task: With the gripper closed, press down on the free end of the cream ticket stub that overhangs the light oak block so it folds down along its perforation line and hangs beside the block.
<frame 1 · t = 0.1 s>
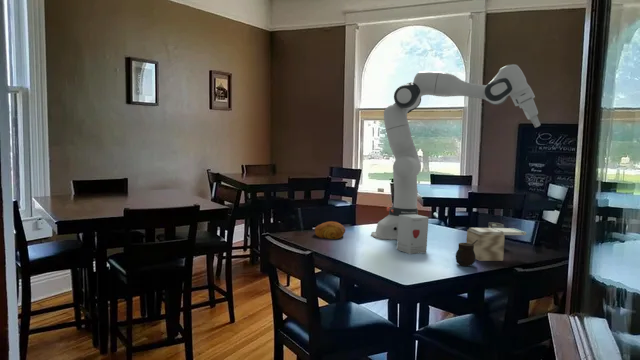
hand: (538, 126, 219), 54 cm above the table, fingers open, 8 cm apart
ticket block: (483, 257, 203), on the table
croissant: (329, 236, 236), on the table
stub: (509, 231, 204), point 11 cm above the table, hinge at 0.0°
food container: (496, 246, 228), on the table
supplement box: (411, 251, 209), on the table
mate gourd: (465, 265, 188), on the table
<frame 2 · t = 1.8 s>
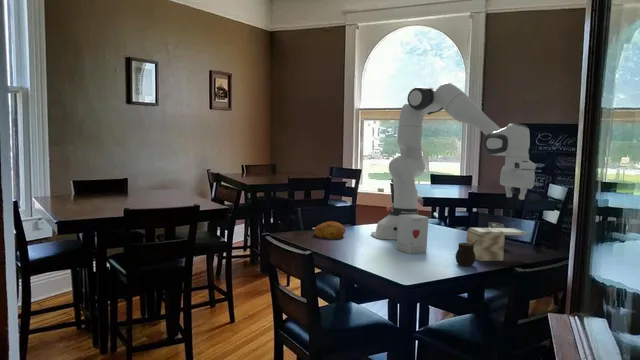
hand: (515, 198, 204), 24 cm above the table, fingers open, 8 cm apart
nothing on the table moved.
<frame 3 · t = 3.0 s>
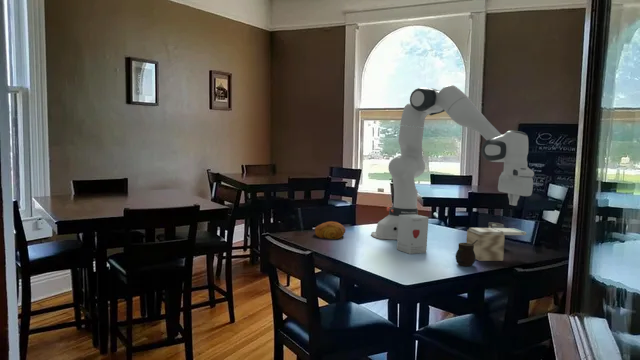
hand: (513, 205, 203), 21 cm above the table, fingers closed
nothing on the table moved.
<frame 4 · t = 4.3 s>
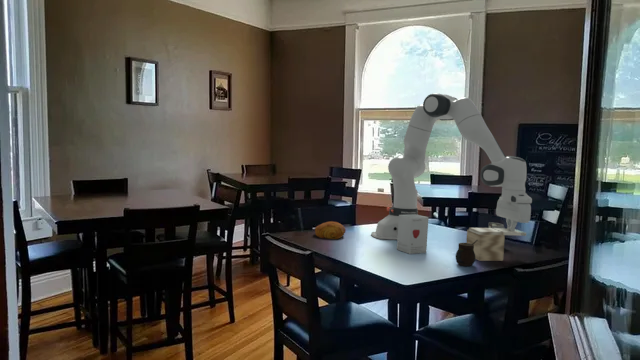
hand: (511, 230, 204), 11 cm above the table, fingers closed, pressing on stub
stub: (509, 231, 204), point 11 cm above the table, hinge at 1.3°, touching gripper
everything else where it was.
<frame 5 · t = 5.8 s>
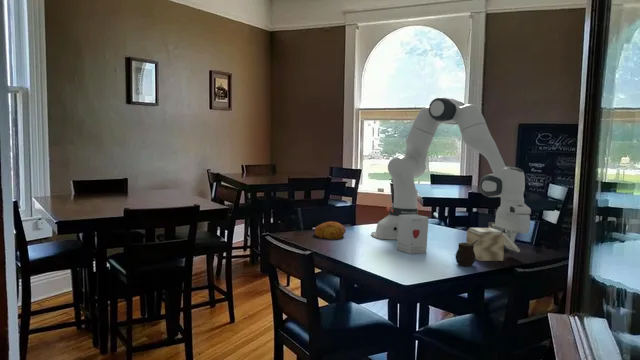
hand: (510, 240, 204), 7 cm above the table, fingers closed, pressing on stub
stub: (506, 240, 204), point 7 cm above the table, hinge at 44.1°, touching gripper
everything else where it was.
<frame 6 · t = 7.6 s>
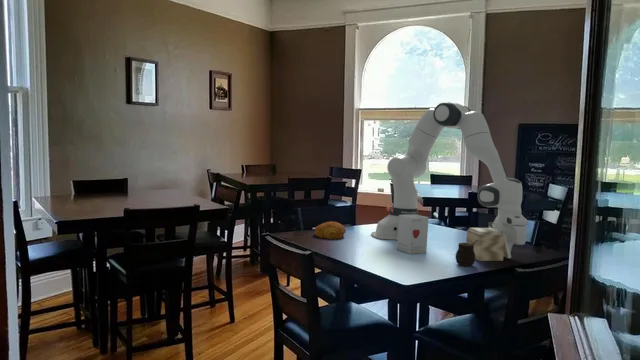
hand: (507, 251, 204), 2 cm above the table, fingers closed
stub: (501, 244, 204), point 5 cm above the table, hinge at 71.2°
everything else where it was.
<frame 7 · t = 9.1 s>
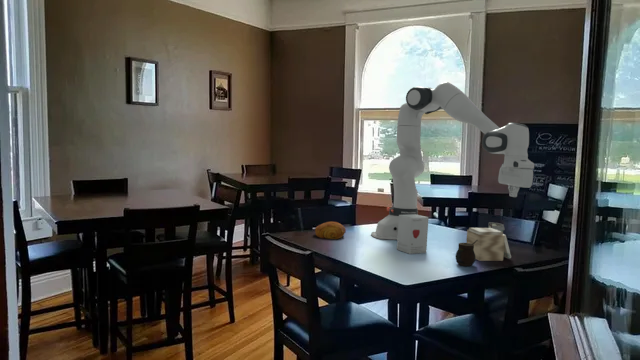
hand: (513, 196, 205), 25 cm above the table, fingers closed
nothing on the table moved.
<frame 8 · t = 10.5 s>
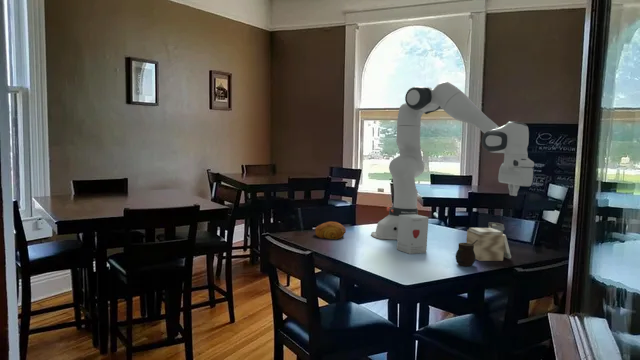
hand: (513, 195, 205), 25 cm above the table, fingers closed
nothing on the table moved.
at the end: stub at +71° (first picture: +0°); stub touching nothing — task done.
